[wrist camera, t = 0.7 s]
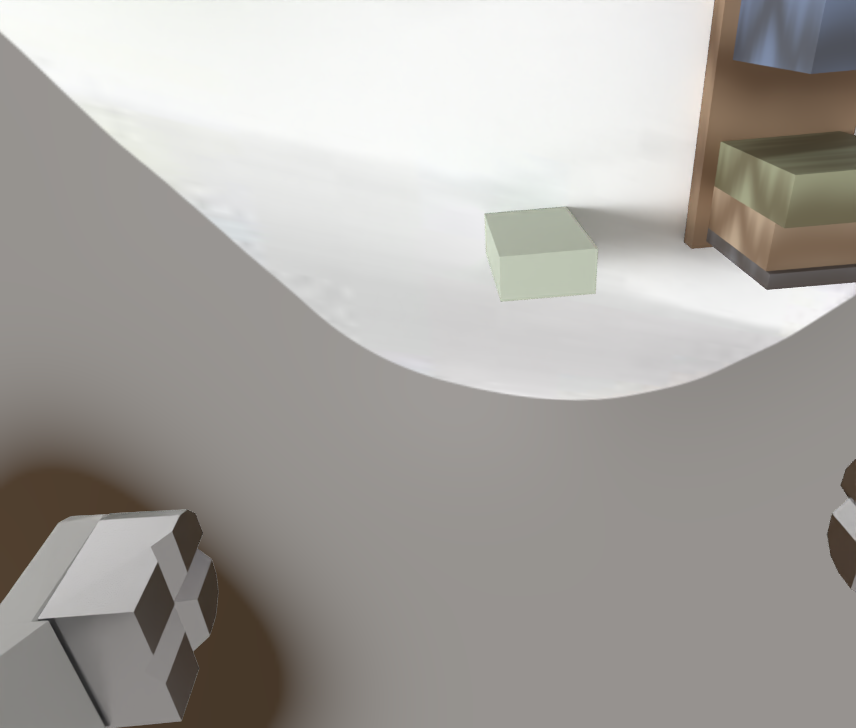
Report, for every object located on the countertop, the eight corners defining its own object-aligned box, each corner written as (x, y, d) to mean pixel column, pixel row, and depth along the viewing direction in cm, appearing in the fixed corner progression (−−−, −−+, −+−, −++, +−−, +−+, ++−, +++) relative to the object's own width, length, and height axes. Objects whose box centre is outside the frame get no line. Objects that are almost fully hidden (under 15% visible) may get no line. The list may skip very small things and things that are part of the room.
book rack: (735, -165, 36) (855, -226, 26) (914, -183, 35) (1100, -251, 26) (683, 241, 48) (752, 302, 38) (817, 230, 47) (919, 288, 38)
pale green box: (484, 213, 46) (499, 256, 38) (566, 206, 46) (598, 248, 38) (485, 252, 48) (500, 301, 40) (565, 245, 48) (595, 293, 40)
